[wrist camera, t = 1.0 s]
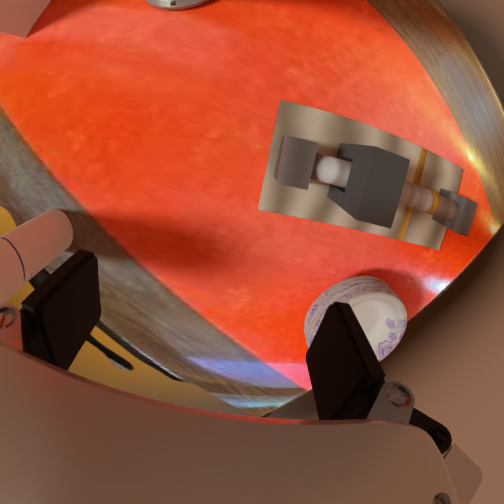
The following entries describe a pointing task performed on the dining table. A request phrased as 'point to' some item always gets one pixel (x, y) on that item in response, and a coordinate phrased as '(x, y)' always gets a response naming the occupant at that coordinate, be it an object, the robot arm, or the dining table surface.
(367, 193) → the collar
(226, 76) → the dining table surface
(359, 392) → the robot arm
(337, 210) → the pipe rig
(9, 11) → the gable box
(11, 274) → the cylindrical container
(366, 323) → the paper bowls
